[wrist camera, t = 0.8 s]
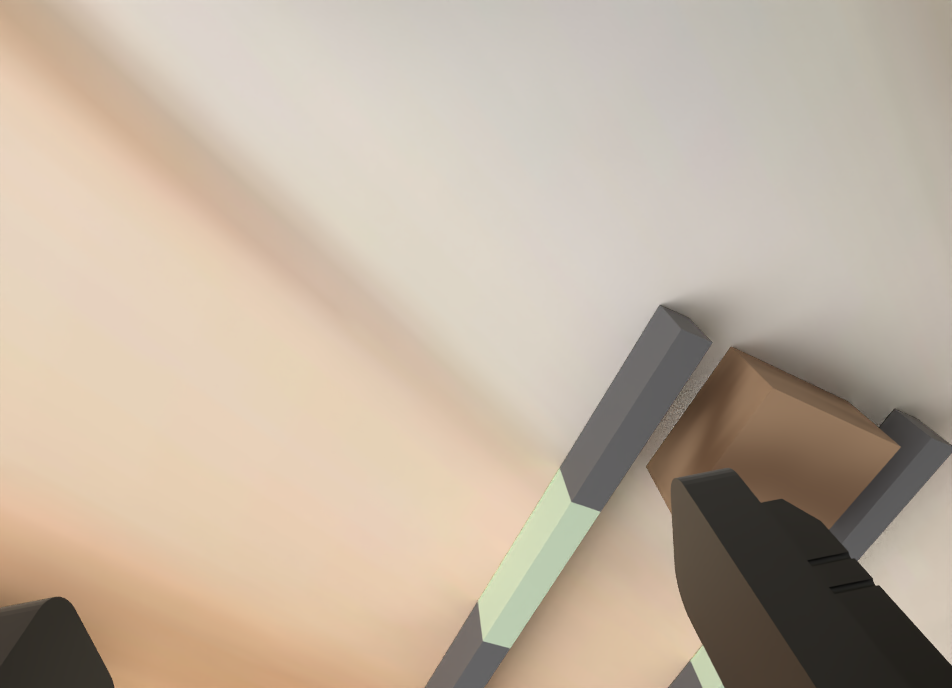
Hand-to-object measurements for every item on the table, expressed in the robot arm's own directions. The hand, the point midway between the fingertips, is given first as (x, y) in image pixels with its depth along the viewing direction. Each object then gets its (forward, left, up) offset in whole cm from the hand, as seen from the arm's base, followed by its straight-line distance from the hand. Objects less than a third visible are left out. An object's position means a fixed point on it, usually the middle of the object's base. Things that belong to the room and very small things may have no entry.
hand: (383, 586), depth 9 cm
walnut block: (+3, +19, -19) cm, 27 cm away
